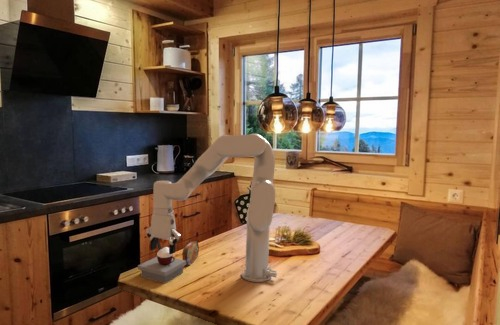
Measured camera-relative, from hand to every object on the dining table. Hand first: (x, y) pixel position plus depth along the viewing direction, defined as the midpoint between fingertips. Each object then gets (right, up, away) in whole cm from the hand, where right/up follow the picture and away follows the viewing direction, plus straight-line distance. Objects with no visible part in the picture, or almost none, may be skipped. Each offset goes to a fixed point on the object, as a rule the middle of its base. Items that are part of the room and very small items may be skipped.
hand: (162, 251), depth 150 cm
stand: (0, -10, +1) cm, 10 cm away
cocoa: (+1, -5, +1) cm, 5 cm away
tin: (+9, -9, +17) cm, 21 cm away
